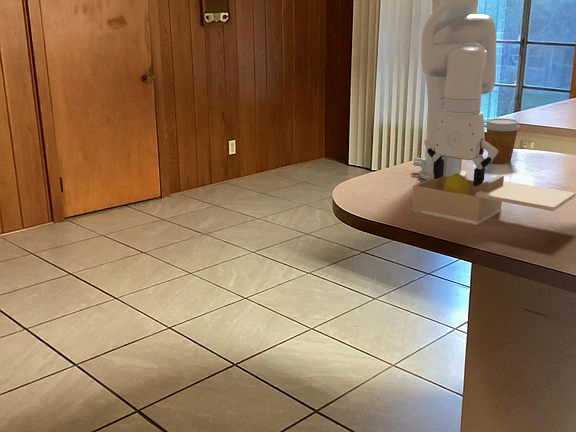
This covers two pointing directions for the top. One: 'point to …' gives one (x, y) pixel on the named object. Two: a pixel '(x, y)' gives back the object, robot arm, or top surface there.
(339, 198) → the top surface
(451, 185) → the lemon
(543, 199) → the mailer lid
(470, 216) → the mailer box
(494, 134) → the disposable coffee cup
